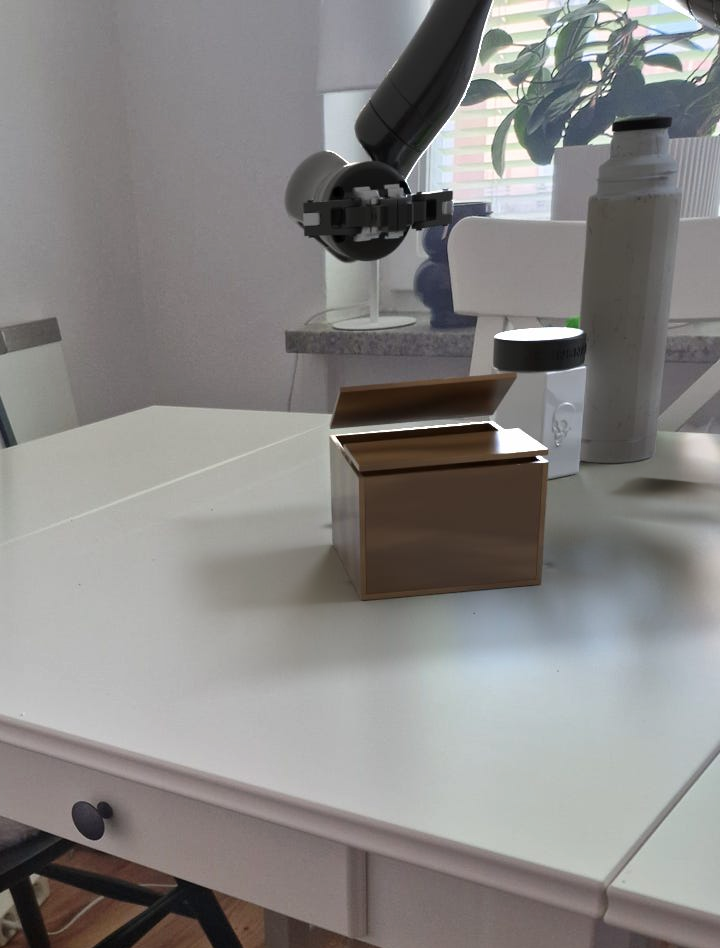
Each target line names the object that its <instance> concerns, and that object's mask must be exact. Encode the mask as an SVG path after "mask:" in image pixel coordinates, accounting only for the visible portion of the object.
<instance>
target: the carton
mask: <svg viewBox="0 0 720 948" xmlns="http://www.w3.org/2000/svg"><path fill="white" fill-rule="evenodd" d="M328 439H329V440H328V441H329V445H328V446H329V473H330V476H329V477H330V505H331V506H330V508H331V543H332V545H333V547H334V549H335V551H336V553H337V556H338V557H339V560H340V561H341V563H342V565H343V567H344V569H345V571H346V573H347V575H348V578H349V579H350V581H351V583H352V585H353V587H354V590H355V592H356V593H357V595H358V597H359V599H360V601H372V600H383V599H393V598H403V597H413V596H414V597H416V596H426V595H437V594H438V595H439V594H448V593H458V592H459V593H460V592H461V593H462V592H471V591H482V590H493V589H504V588H506V589H507V588H513V587H514V588H515V587H527V586H538V585H542V576H543V575H542V573H543V561H544V560H543V559H544V545H545V544H544V541H545V529H546V528H545V527H546V512H547V499H548V498H547V496H548V483H549V482H548V481H549V480H548V466H549V462H548V461H547V460H545V459H544V458H543V457H541V456H545V455H548V449H547V448H546V447H544V446H543V445H541V444H540V443H538V442H537V441H536V440H534V439H533V438H531V437H530V436H528V435H527V434H525V433H524V432H522V431H521V430H520V429H511V430H504V429H502V428H501V427H500V426H498V425H497V424H495V423H494V422H493V421H490V420H489V421H482V422H481V421H480V422H479V421H478V422H470V423H467V422H466V423H457V424H446V425H434V426H433V425H432V426H423V427H412V428H400V429H387V430H376V431H365V432H353V433H341V434H330V435H329V436H328Z"/></svg>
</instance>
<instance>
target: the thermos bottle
mask: <svg viewBox="0 0 720 948" xmlns="http://www.w3.org/2000/svg"><path fill="white" fill-rule="evenodd" d="M672 123H673V117H672V116H660V115H650V116H649V115H648V116H637V117H631V118H624V119H620V120H617V121H613V122H612V123H611V132H612V137H611V140H610V143H609V156H608V158H607V159H606V160H605V161H604V162H602V163H601V164H600V165H599V166H598V168H597V177H596V178H595V181H596V189H595V190H596V191H595V192H594V193H592V194H590V195H588V197H587V204H586V205H587V206H586V220H585V221H586V222H585V235H584V236H585V237H584V250H583V263H582V275H581V289H580V291H581V292H580V305H579V315H580V317H579V329H580V330H583V331H585V332H586V334H587V336H586V343H587V348H586V354H585V362H584V363H583V364H584V365H585V366H586V368H587V369H586V382H585V395H584V408H583V421H582V434H581V447H580V460H579V461H582V462H587V463H597V464H622V463H624V464H625V463H633V462H638V461H643V460H647V459H650V458H652V457H653V456H654V455H655V453H656V447H657V446H656V443H657V437H658V435H657V434H658V427H659V416H660V408H661V407H660V406H661V397H662V389H663V379H664V378H663V377H664V370H665V369H664V368H665V361H666V350H667V343H668V342H667V341H668V332H669V323H670V315H671V314H670V313H671V305H672V304H671V303H672V295H673V285H674V276H675V266H676V257H677V249H678V238H679V237H678V236H679V228H680V220H681V210H682V202H683V201H682V200H683V189H681V188H679V187H676V177H677V172H678V171H679V168H678V160H677V159H676V158H674V157H673V156H672V155H670V154H669V144H670V135H669V128H671V127H672Z"/></svg>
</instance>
